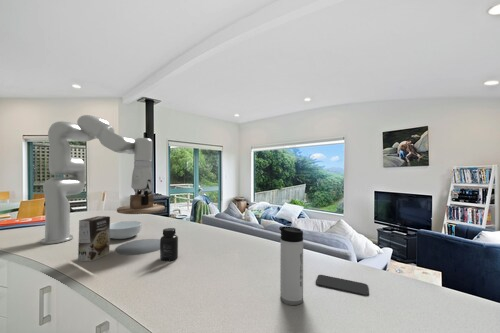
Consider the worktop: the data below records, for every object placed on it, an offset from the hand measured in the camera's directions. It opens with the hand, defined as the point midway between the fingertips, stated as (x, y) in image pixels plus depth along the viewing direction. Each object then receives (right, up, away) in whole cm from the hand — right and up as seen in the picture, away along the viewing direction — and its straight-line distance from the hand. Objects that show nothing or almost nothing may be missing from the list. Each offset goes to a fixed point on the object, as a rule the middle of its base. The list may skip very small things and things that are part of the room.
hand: (141, 203), depth 106 cm
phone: (+79, -20, -34) cm, 88 cm away
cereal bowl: (-16, -20, +14) cm, 30 cm away
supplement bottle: (+18, -20, -14) cm, 30 cm away
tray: (0, -20, 0) cm, 20 cm away
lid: (0, -3, 0) cm, 3 cm away
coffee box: (-13, -20, -13) cm, 27 cm away
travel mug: (+62, -20, -42) cm, 77 cm away
